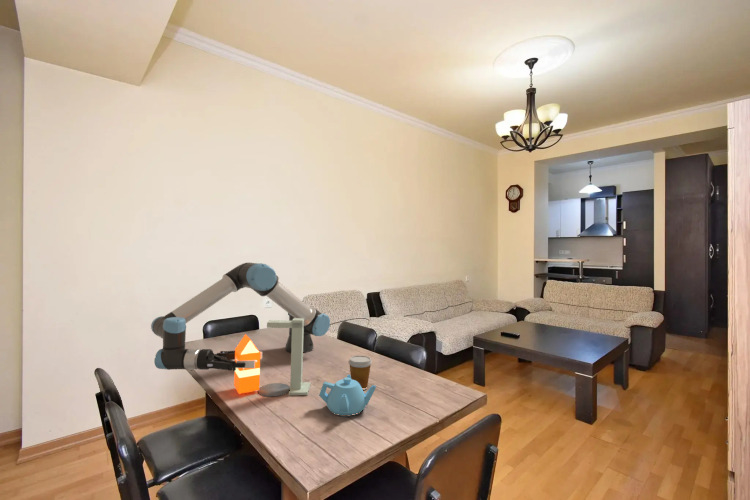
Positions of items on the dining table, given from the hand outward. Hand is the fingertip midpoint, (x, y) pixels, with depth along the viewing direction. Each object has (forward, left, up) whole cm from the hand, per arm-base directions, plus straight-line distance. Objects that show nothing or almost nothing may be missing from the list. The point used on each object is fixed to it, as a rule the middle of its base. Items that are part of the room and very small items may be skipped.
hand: (258, 359), depth 136 cm
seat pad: (-6, +3, -12) cm, 14 cm away
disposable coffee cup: (-36, +18, -12) cm, 42 cm away
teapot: (-23, +31, -12) cm, 40 cm away
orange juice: (+4, -2, -11) cm, 12 cm away
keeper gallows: (-10, +5, -12) cm, 17 cm away
